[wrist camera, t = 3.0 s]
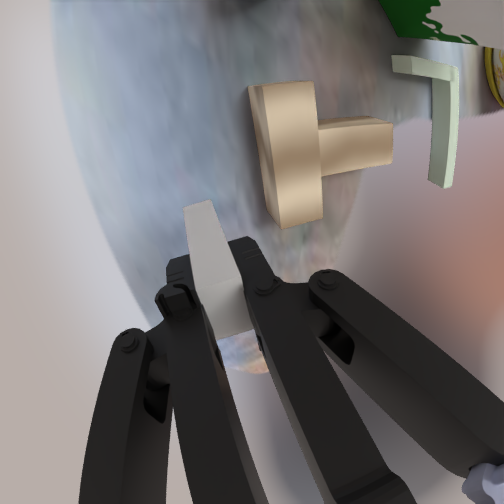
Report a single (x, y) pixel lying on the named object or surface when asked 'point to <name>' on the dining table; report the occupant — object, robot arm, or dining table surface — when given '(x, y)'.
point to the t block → (308, 148)
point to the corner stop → (438, 113)
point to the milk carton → (449, 20)
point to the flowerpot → (495, 72)
